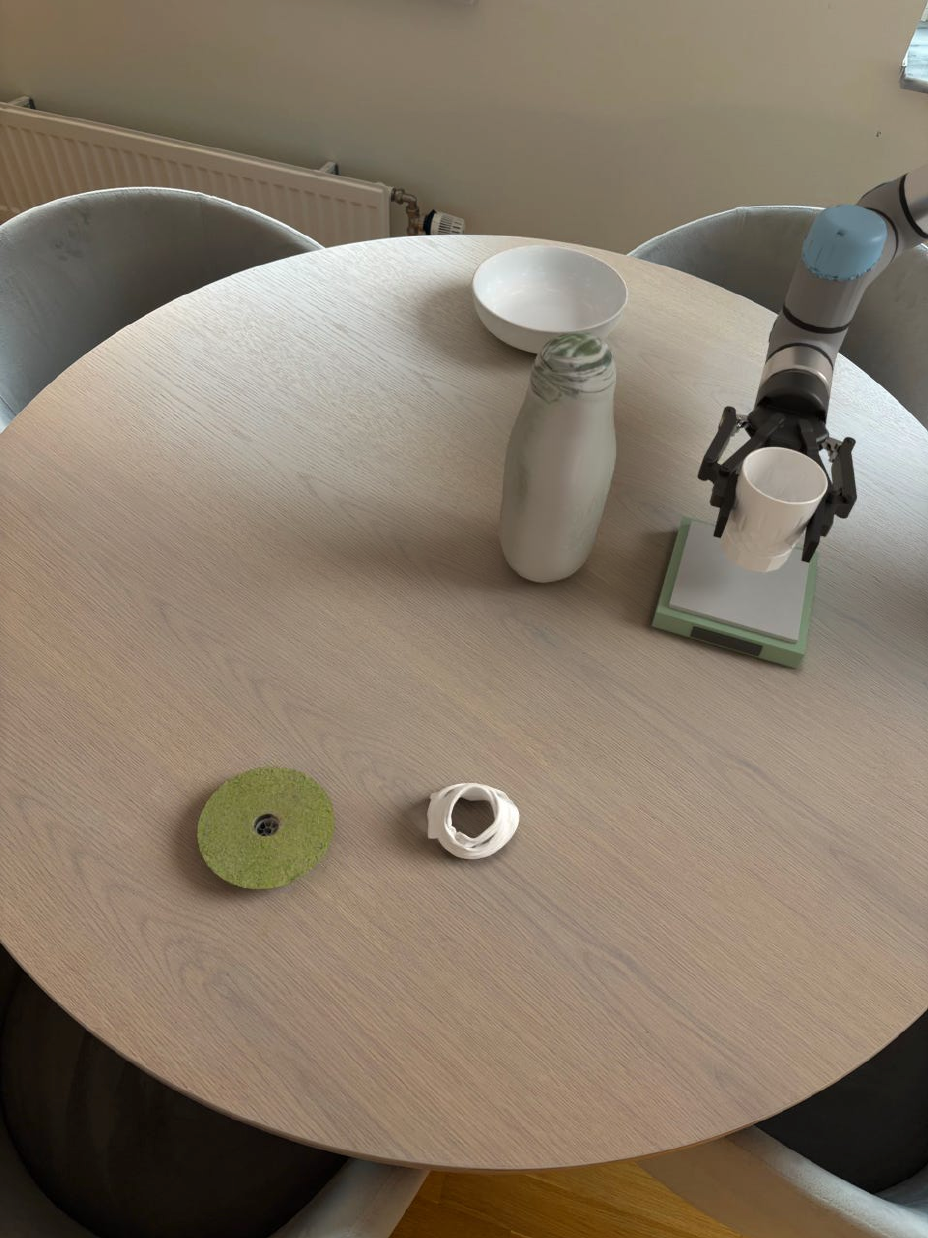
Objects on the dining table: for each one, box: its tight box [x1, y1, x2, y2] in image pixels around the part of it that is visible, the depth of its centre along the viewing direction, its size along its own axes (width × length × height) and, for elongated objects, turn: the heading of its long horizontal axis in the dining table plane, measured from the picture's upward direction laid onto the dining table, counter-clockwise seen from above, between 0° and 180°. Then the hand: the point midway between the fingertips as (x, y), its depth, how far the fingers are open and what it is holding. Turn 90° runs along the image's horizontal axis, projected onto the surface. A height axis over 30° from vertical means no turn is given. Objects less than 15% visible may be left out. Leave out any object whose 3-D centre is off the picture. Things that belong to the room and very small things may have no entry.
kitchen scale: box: [651, 515, 820, 670], centre depth 100 cm, size 15×15×3 cm
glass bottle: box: [498, 332, 617, 584], centre depth 92 cm, size 10×10×28 cm
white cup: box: [721, 447, 828, 573], centre depth 92 cm, size 8×8×10 cm
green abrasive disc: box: [196, 765, 335, 890], centre depth 80 cm, size 11×11×2 cm
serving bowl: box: [470, 244, 629, 354], centre depth 128 cm, size 21×21×7 cm
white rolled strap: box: [426, 782, 520, 860], centre depth 81 cm, size 8×7×5 cm
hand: (765, 539), depth 88 cm, fingers closed on white cup, 8 cm apart
